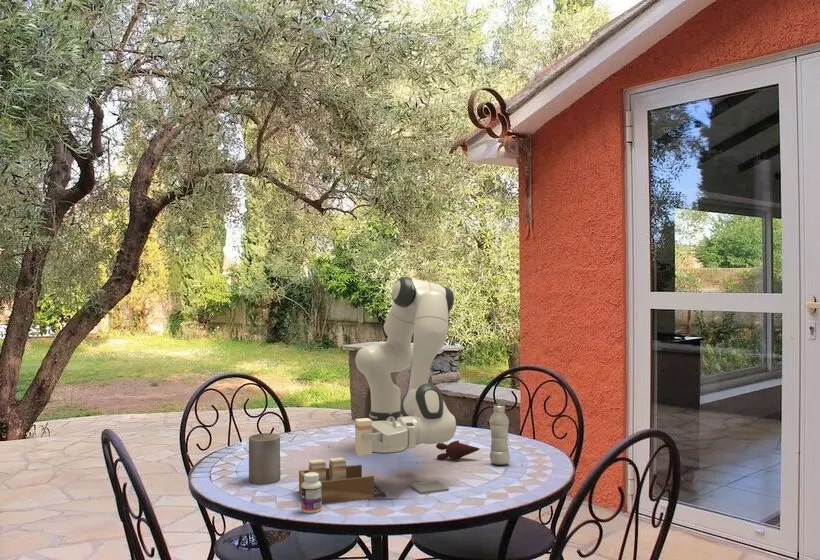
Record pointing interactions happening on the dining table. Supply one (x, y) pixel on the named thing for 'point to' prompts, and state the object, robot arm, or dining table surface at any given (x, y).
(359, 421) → the banded cream pillar
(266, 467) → the pillar candle
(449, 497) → the dining table surface
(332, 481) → the dispenser
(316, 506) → the pill bottle
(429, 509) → the dining table surface
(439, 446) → the icecream
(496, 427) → the plastic bottle
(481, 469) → the dining table surface
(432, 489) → the pad
